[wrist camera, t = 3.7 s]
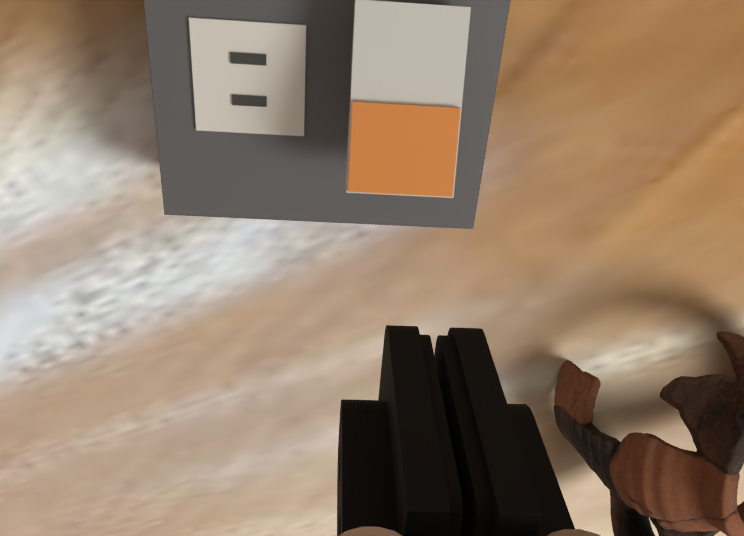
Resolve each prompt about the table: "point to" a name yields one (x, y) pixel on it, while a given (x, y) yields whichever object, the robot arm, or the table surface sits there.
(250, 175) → the power strip
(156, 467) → the table surface
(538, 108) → the table surface
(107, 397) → the table surface
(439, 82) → the rocker
